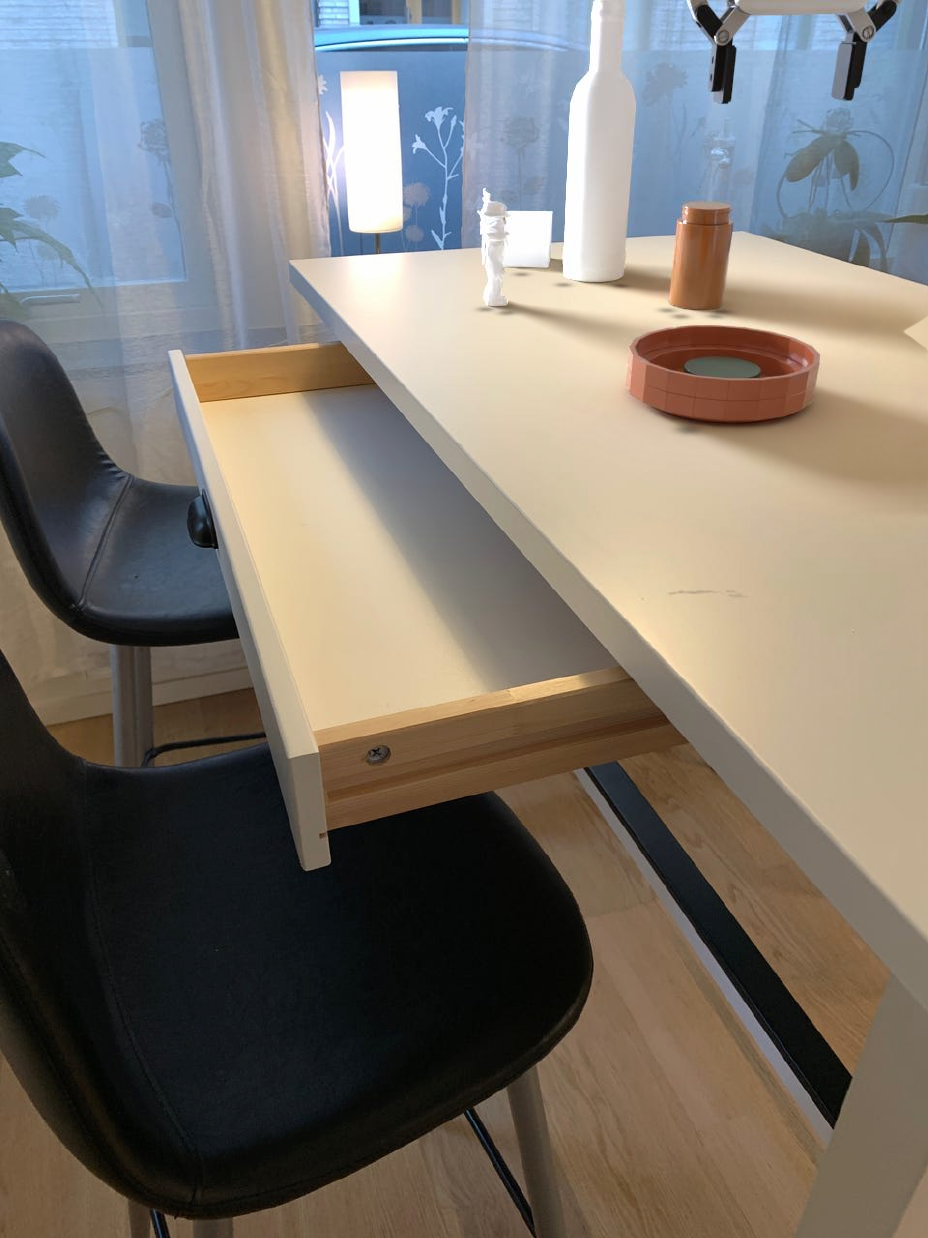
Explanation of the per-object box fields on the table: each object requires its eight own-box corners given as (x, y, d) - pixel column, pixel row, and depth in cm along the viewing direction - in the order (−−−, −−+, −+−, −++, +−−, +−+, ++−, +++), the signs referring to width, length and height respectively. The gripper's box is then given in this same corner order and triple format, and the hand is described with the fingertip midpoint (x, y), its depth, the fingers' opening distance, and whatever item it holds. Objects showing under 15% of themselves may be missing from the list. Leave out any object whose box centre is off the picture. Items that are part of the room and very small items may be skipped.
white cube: (503, 266, 131) (503, 218, 128) (507, 257, 136) (507, 210, 133) (548, 267, 130) (550, 219, 127) (550, 257, 135) (552, 211, 132)
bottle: (550, 277, 126) (561, -1, 110) (580, 265, 131) (594, -1, 115) (606, 285, 122) (625, -1, 106) (634, 273, 127) (657, -1, 111)
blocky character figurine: (475, 292, 119) (475, 185, 113) (508, 291, 119) (509, 184, 113) (479, 312, 112) (479, 198, 105) (514, 311, 112) (516, 198, 105)
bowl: (782, 366, 94) (789, 324, 92) (836, 427, 80) (846, 379, 78) (615, 367, 94) (618, 325, 92) (640, 428, 81) (645, 380, 78)
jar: (711, 294, 117) (723, 199, 112) (731, 308, 112) (744, 208, 107) (661, 297, 117) (671, 201, 111) (679, 310, 111) (689, 210, 106)
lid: (668, 379, 89) (670, 360, 88) (731, 372, 91) (734, 352, 90) (705, 403, 84) (708, 382, 83) (772, 394, 85) (775, 374, 84)
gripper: (707, -178, 66) (683, 107, 75) (962, -184, 66) (908, 101, 75) (684, -161, 73) (664, 100, 82) (916, -167, 73) (871, 94, 82)
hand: (781, 100), depth 79 cm, fingers open, 9 cm apart
